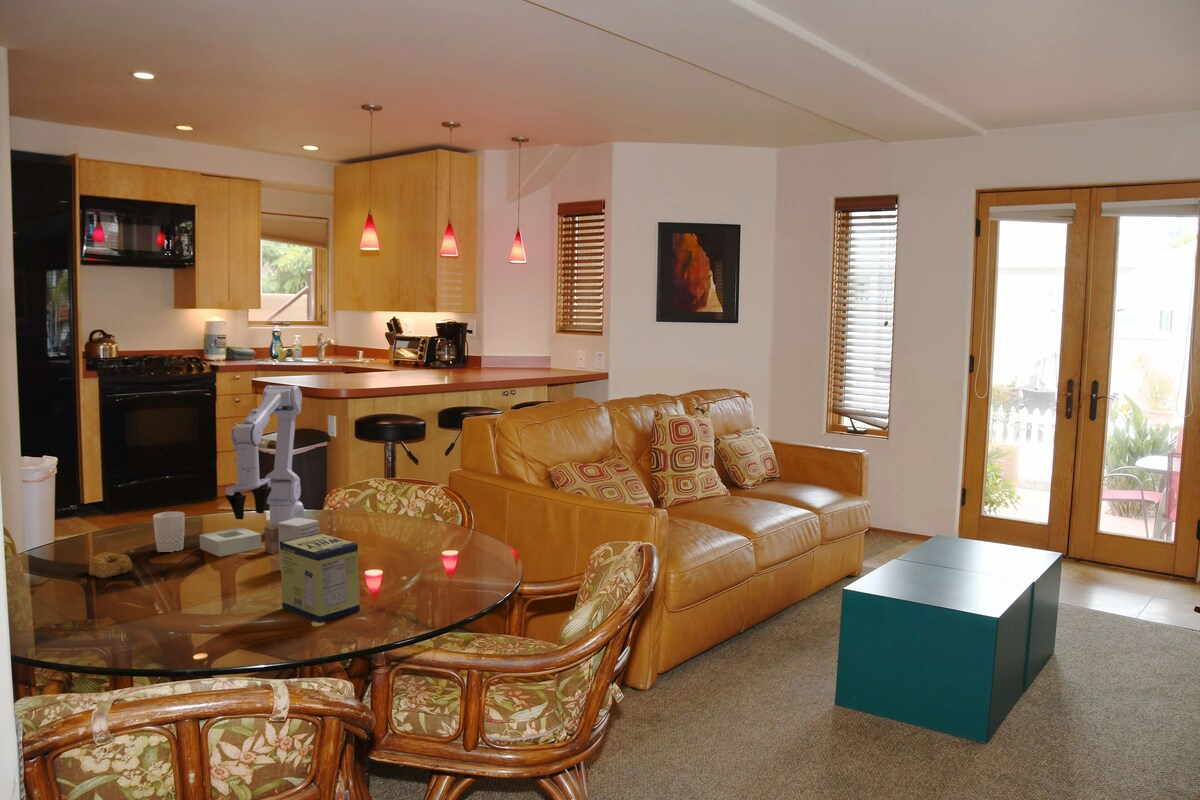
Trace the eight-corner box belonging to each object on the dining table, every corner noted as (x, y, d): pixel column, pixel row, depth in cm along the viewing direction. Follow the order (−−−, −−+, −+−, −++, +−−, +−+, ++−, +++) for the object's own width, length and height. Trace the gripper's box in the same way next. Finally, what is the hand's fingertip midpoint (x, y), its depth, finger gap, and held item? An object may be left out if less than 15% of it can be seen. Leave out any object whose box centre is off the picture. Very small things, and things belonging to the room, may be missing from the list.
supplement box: (278, 570, 231) (276, 522, 230) (300, 563, 238) (298, 516, 237) (299, 574, 228) (297, 525, 227) (321, 567, 235) (319, 519, 233)
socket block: (241, 540, 261) (240, 526, 260) (261, 548, 253) (261, 534, 252) (200, 548, 252) (199, 534, 251) (219, 556, 244) (219, 542, 243)
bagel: (83, 580, 223) (82, 561, 223) (95, 568, 234) (94, 550, 233) (127, 578, 226) (126, 559, 225) (137, 566, 236) (136, 548, 236)
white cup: (177, 553, 247) (176, 518, 246) (149, 553, 247) (147, 517, 246) (191, 546, 254) (189, 511, 253) (163, 545, 255) (161, 511, 254)
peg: (278, 548, 252) (277, 524, 251) (286, 551, 249) (285, 526, 249) (265, 551, 249) (264, 526, 248) (272, 554, 246) (271, 529, 246)
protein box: (321, 596, 211) (319, 531, 209) (361, 611, 201) (359, 543, 200) (280, 608, 203) (278, 541, 201) (320, 623, 193) (318, 553, 191)
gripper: (256, 462, 255) (258, 509, 256) (216, 470, 242) (218, 520, 243) (275, 463, 252) (277, 511, 254) (236, 472, 239) (238, 522, 240)
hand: (249, 516), depth 248 cm, fingers open, 7 cm apart
